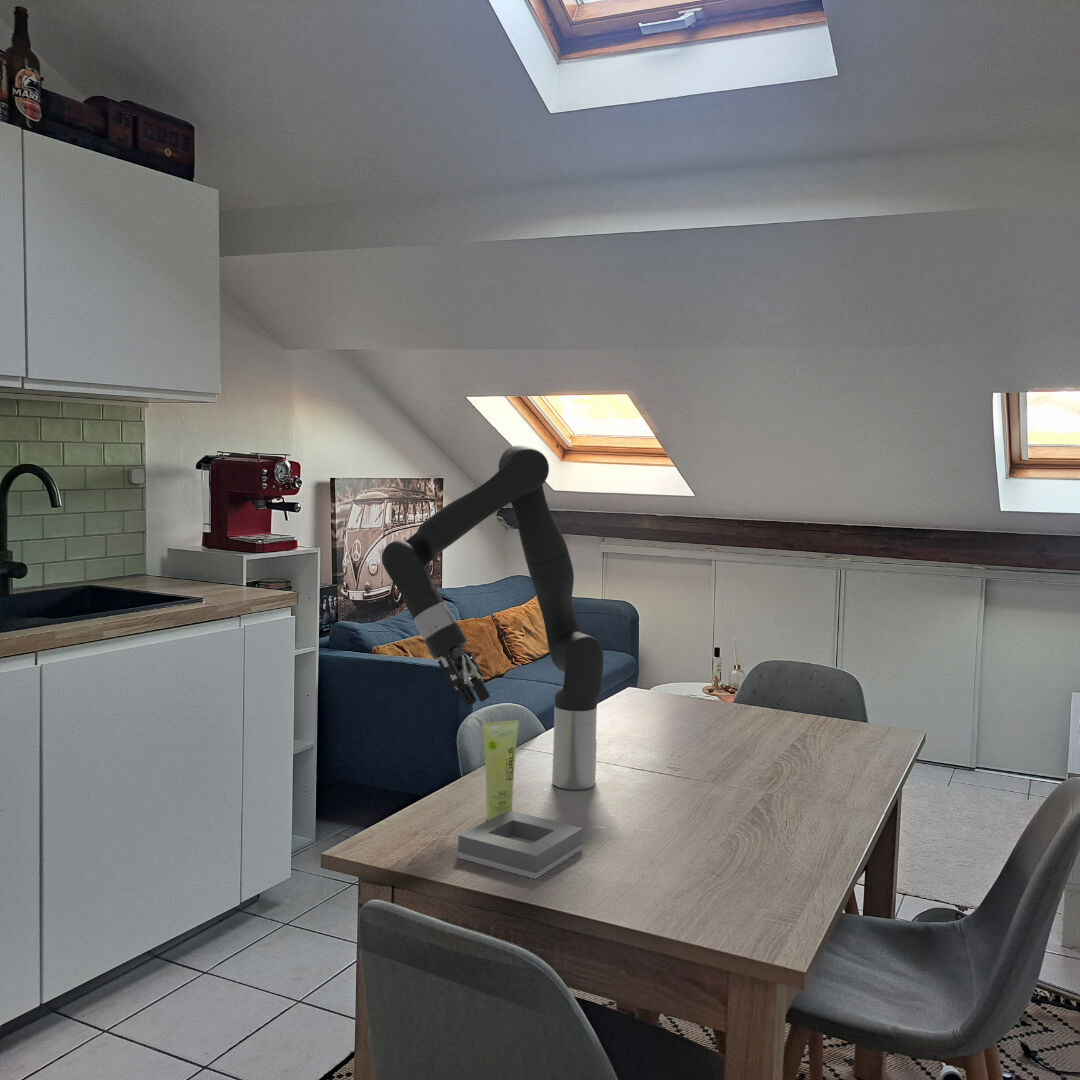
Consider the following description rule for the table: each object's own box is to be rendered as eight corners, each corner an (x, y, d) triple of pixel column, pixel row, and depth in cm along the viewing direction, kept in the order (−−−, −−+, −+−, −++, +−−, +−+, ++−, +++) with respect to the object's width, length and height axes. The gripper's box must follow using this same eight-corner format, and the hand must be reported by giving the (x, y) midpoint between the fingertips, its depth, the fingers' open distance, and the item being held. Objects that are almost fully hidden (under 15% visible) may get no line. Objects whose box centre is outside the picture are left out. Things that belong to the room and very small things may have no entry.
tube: (501, 826, 191) (504, 726, 190) (479, 821, 194) (481, 722, 192) (516, 818, 196) (519, 720, 195) (494, 813, 199) (497, 716, 197)
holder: (508, 830, 189) (508, 810, 189) (582, 849, 181) (582, 828, 180) (457, 857, 175) (458, 835, 175) (535, 879, 167) (536, 855, 167)
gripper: (443, 622, 193) (484, 696, 190) (466, 620, 206) (505, 688, 204) (411, 641, 194) (452, 715, 191) (437, 638, 208) (475, 707, 205)
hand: (479, 701), depth 197 cm, fingers open, 8 cm apart
